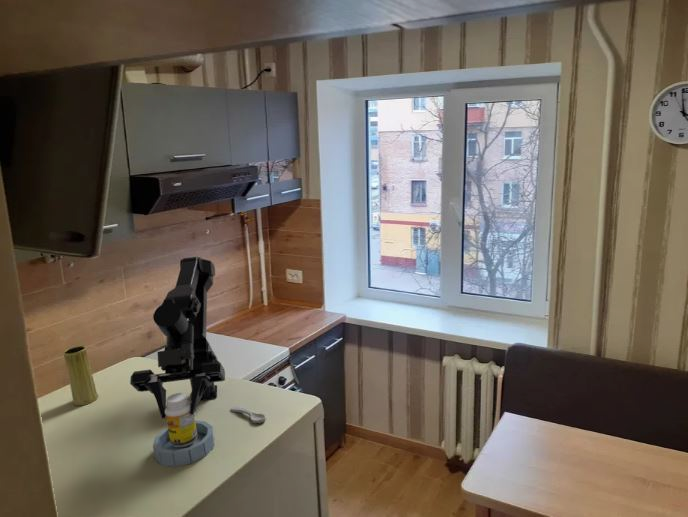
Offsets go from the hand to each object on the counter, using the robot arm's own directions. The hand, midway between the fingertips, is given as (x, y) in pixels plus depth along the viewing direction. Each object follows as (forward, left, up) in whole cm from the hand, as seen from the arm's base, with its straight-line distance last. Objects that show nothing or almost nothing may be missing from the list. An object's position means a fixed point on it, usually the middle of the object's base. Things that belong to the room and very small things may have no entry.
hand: (177, 416), depth 108 cm
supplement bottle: (-1, 0, -7) cm, 7 cm away
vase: (-35, -28, -8) cm, 46 cm away
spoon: (-10, +14, -9) cm, 19 cm away
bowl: (-1, 0, -8) cm, 8 cm away
